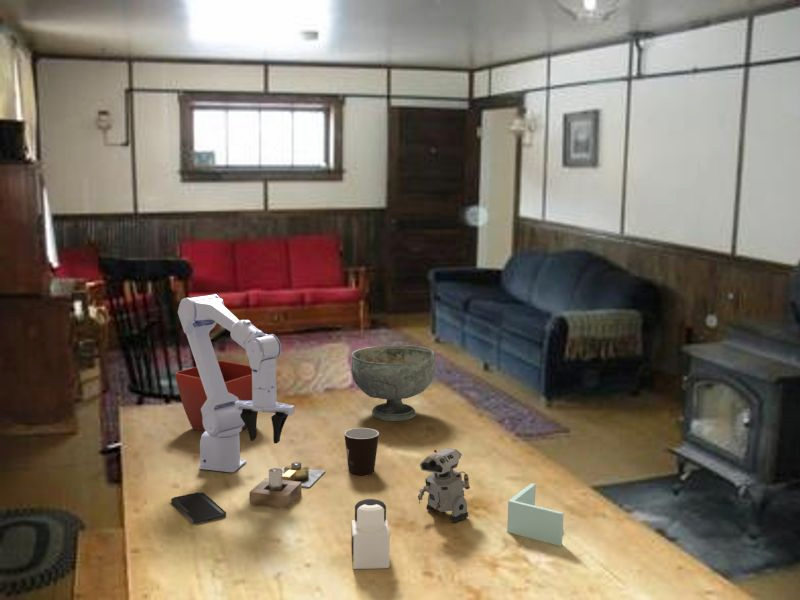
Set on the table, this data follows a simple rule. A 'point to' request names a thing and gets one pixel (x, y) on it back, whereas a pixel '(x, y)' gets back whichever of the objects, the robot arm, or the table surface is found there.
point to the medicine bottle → (370, 536)
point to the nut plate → (309, 477)
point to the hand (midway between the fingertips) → (265, 441)
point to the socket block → (275, 494)
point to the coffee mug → (361, 450)
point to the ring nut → (295, 472)
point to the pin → (275, 479)
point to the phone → (198, 508)
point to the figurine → (445, 484)
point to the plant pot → (194, 393)
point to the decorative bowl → (393, 376)
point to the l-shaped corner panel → (534, 518)
